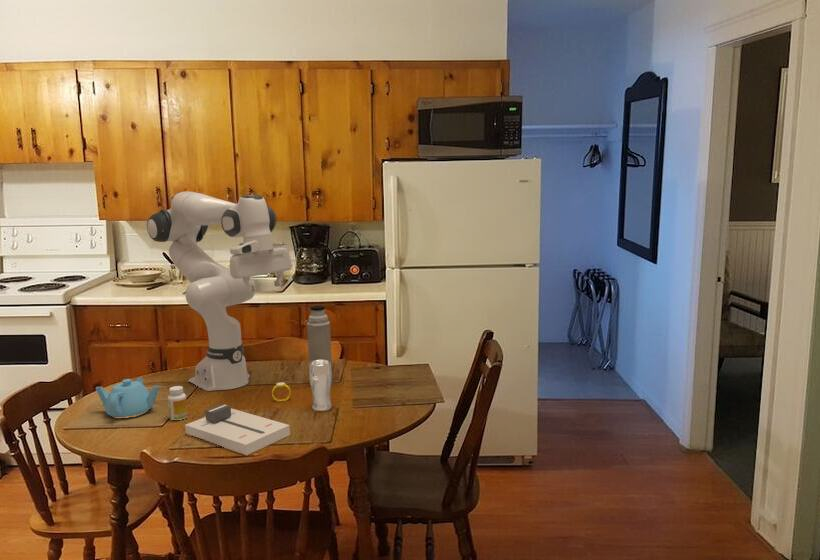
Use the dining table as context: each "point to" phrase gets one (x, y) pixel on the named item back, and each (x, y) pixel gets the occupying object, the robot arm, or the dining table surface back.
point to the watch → (281, 386)
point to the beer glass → (320, 384)
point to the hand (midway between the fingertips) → (264, 288)
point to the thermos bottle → (319, 335)
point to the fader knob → (218, 413)
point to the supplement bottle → (177, 403)
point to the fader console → (239, 431)
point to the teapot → (128, 398)
